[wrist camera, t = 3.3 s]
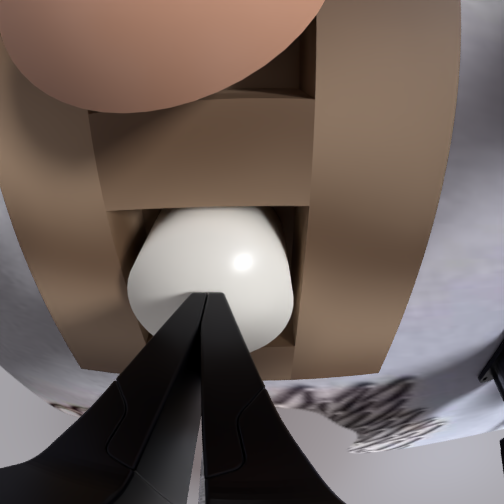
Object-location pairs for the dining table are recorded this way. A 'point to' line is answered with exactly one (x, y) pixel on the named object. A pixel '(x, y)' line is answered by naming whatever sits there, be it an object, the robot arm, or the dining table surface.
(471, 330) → the dining table surface
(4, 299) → the dining table surface
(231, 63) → the middle knob
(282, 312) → the knob
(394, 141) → the knob mount
